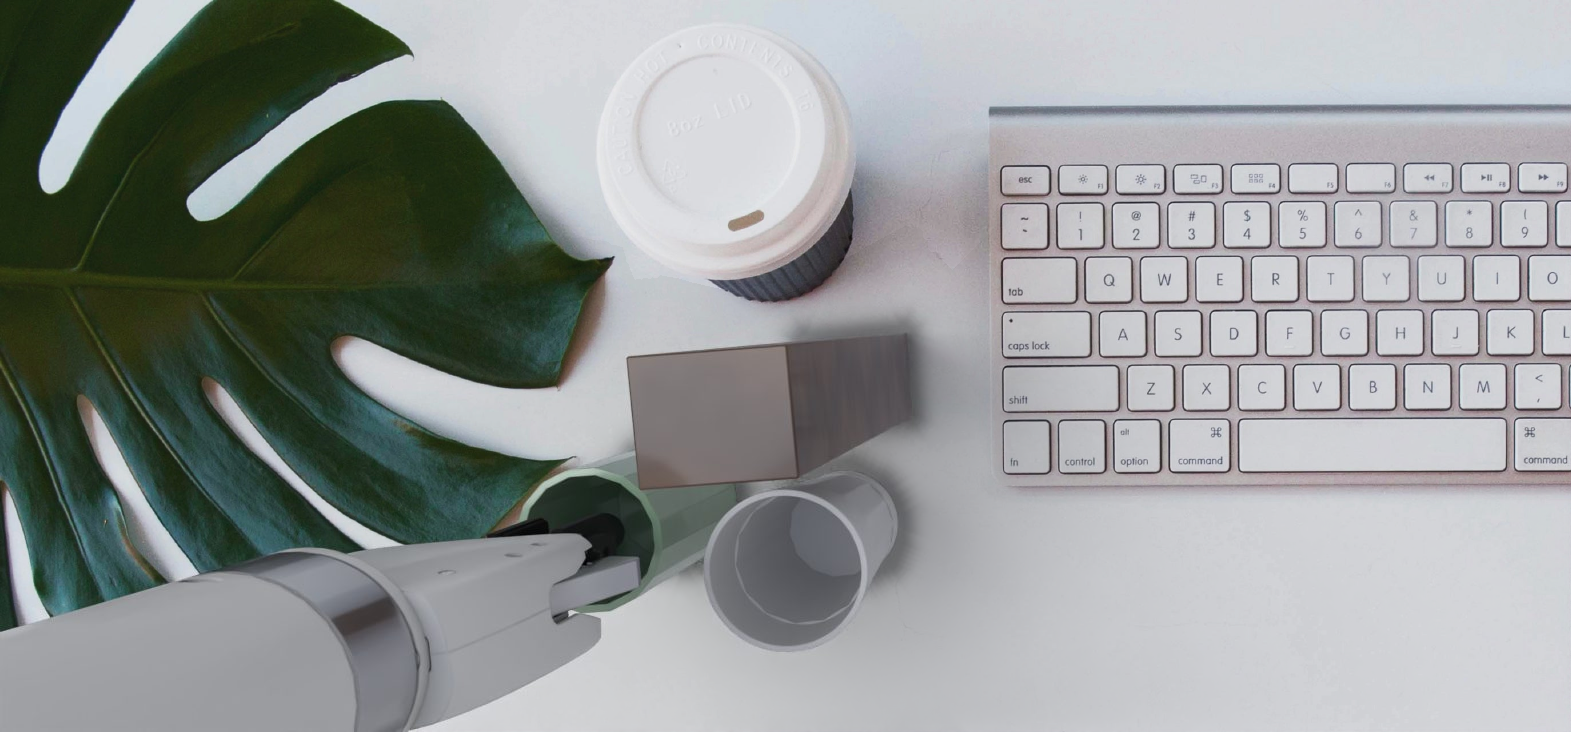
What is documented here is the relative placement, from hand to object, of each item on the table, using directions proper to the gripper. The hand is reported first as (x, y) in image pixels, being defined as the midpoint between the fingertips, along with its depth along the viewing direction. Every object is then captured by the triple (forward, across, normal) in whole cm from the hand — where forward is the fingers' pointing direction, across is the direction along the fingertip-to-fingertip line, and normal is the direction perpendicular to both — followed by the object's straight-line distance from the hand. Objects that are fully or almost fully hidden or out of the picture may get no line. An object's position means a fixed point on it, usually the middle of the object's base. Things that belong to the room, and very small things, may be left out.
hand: (571, 548), depth 51 cm
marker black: (+4, 0, 0) cm, 4 cm away
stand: (+13, +12, +6) cm, 18 cm away
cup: (+13, +10, -2) cm, 16 cm away
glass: (+13, 0, 0) cm, 13 cm away
